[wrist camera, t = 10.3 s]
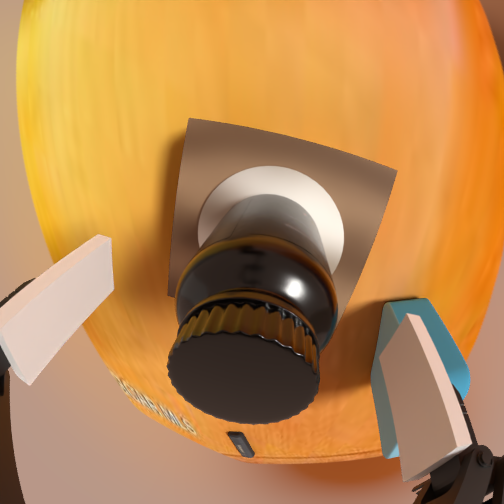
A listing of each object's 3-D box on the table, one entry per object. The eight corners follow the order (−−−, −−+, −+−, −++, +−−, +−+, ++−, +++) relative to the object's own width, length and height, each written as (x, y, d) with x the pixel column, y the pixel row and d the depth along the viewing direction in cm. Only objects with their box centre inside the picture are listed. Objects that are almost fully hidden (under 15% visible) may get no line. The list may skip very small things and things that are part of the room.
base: (207, 120, 20) (187, 117, 16) (379, 164, 19) (399, 171, 15) (184, 273, 26) (166, 297, 22) (327, 310, 25) (331, 340, 21)
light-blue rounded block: (402, 372, 27) (424, 454, 16) (368, 377, 28) (382, 463, 17) (424, 291, 23) (476, 380, 12) (383, 295, 24) (423, 394, 13)
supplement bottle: (262, 301, 20) (232, 448, 10) (200, 233, 19) (101, 354, 8) (340, 250, 18) (385, 399, 7) (277, 169, 16) (245, 239, 6)
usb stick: (227, 428, 37) (225, 436, 36) (243, 429, 37) (241, 437, 35) (242, 451, 41) (241, 458, 39) (256, 452, 40) (255, 458, 39)
